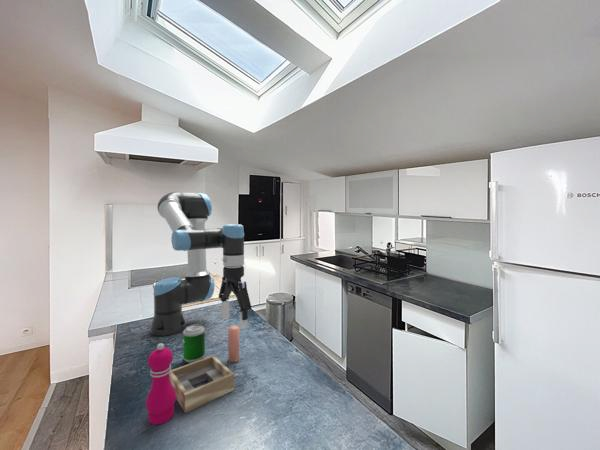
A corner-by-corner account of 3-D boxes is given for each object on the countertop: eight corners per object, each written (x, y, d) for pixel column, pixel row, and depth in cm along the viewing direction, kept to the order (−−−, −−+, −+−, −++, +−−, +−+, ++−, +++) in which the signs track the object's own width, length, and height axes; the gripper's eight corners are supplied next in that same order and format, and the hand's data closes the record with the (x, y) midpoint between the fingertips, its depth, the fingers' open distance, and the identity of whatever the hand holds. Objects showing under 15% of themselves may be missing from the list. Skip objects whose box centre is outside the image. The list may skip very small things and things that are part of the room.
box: (168, 386, 86) (167, 371, 86) (213, 368, 96) (213, 355, 96) (185, 412, 75) (185, 395, 75) (234, 389, 85) (234, 374, 85)
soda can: (209, 355, 105) (208, 325, 105) (195, 366, 98) (195, 333, 98) (193, 352, 108) (192, 322, 107) (178, 362, 101) (178, 330, 100)
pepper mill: (153, 407, 77) (152, 337, 77) (179, 405, 78) (179, 337, 77) (140, 427, 70) (139, 350, 69) (170, 425, 71) (169, 349, 70)
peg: (226, 359, 103) (226, 327, 102) (235, 355, 106) (235, 324, 105) (231, 363, 100) (231, 331, 100) (241, 359, 103) (241, 328, 102)
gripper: (209, 262, 108) (210, 316, 109) (242, 272, 89) (242, 336, 90) (227, 260, 113) (227, 311, 114) (261, 269, 95) (261, 330, 95)
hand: (234, 322), depth 102 cm, fingers open, 13 cm apart
